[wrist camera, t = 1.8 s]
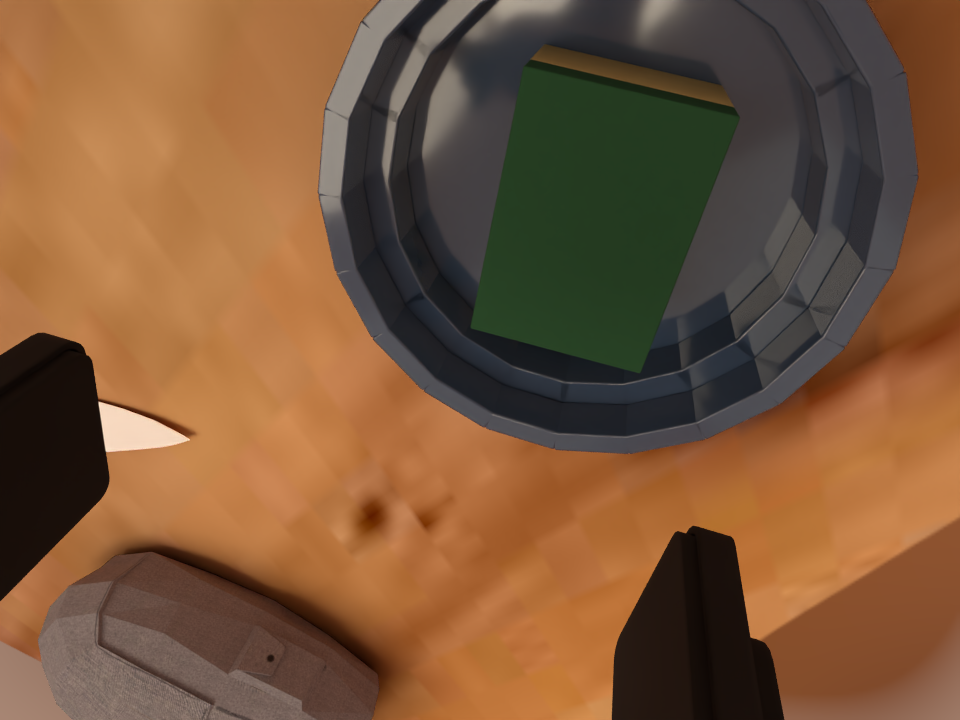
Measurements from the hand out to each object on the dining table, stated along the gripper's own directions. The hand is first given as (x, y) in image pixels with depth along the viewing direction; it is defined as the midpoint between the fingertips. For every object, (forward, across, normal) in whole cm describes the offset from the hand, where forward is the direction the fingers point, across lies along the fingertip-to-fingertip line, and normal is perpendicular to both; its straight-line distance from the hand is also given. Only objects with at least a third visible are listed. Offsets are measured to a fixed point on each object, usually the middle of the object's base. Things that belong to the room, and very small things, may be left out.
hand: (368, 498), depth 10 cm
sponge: (+15, -2, -1) cm, 16 cm away
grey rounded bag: (+16, +11, +33) cm, 39 cm away
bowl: (+16, -2, -1) cm, 16 cm away
